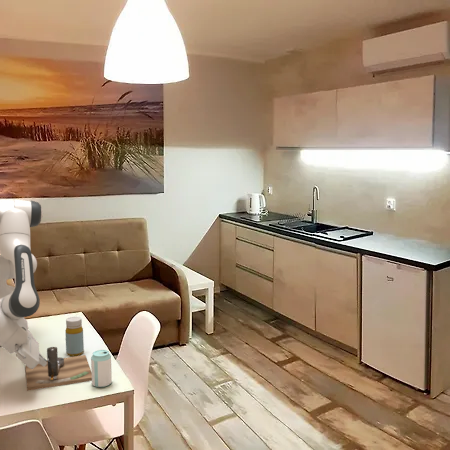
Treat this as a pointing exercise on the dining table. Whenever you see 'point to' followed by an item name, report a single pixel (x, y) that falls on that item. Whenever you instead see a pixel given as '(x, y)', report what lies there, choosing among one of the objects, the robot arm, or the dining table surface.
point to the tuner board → (59, 374)
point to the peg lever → (53, 362)
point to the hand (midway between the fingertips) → (45, 363)
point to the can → (101, 368)
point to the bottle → (74, 336)
